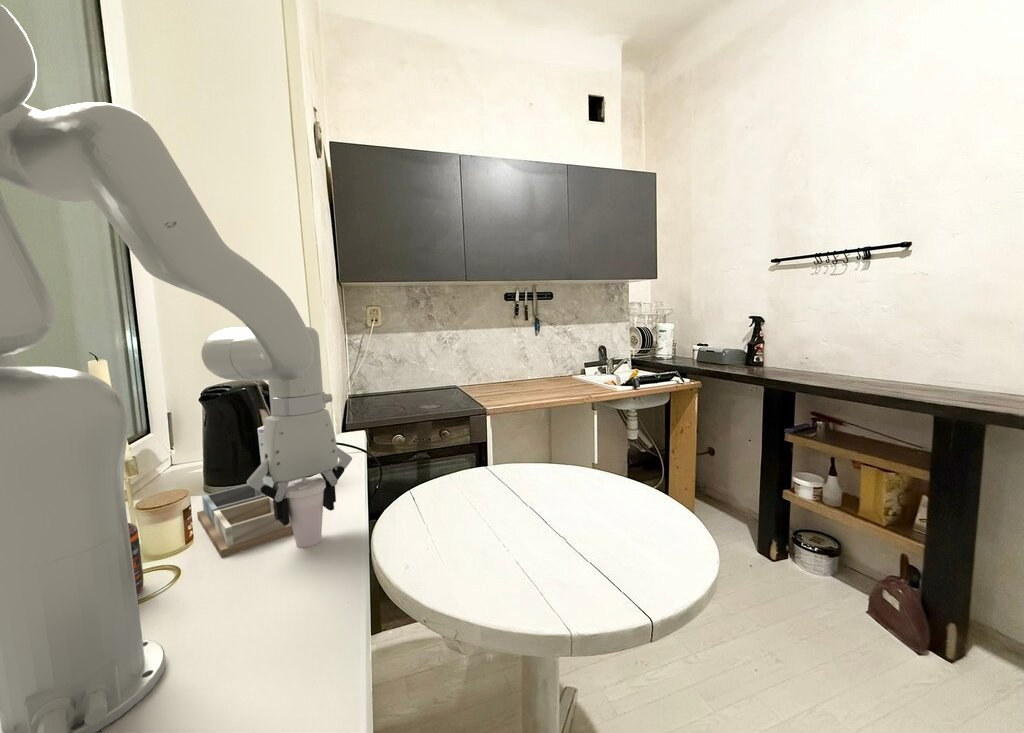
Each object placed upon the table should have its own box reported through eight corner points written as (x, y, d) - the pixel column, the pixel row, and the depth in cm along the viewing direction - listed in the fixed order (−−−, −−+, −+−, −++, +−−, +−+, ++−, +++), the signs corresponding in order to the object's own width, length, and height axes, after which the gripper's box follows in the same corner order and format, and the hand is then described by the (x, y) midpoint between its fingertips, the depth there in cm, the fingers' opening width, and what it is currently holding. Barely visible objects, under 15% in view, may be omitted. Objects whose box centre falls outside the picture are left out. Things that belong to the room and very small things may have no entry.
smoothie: (332, 529, 73) (325, 449, 72) (328, 547, 67) (321, 461, 66) (290, 536, 71) (283, 454, 70) (282, 555, 65) (274, 466, 64)
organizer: (297, 531, 73) (295, 508, 72) (221, 557, 65) (218, 531, 65) (263, 500, 87) (261, 480, 86) (197, 518, 79) (195, 496, 79)
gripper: (342, 395, 76) (349, 493, 78) (227, 411, 64) (239, 526, 65) (361, 400, 70) (368, 504, 72) (240, 418, 58) (252, 543, 60)
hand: (306, 514), depth 69 cm, fingers closed on smoothie, 6 cm apart
